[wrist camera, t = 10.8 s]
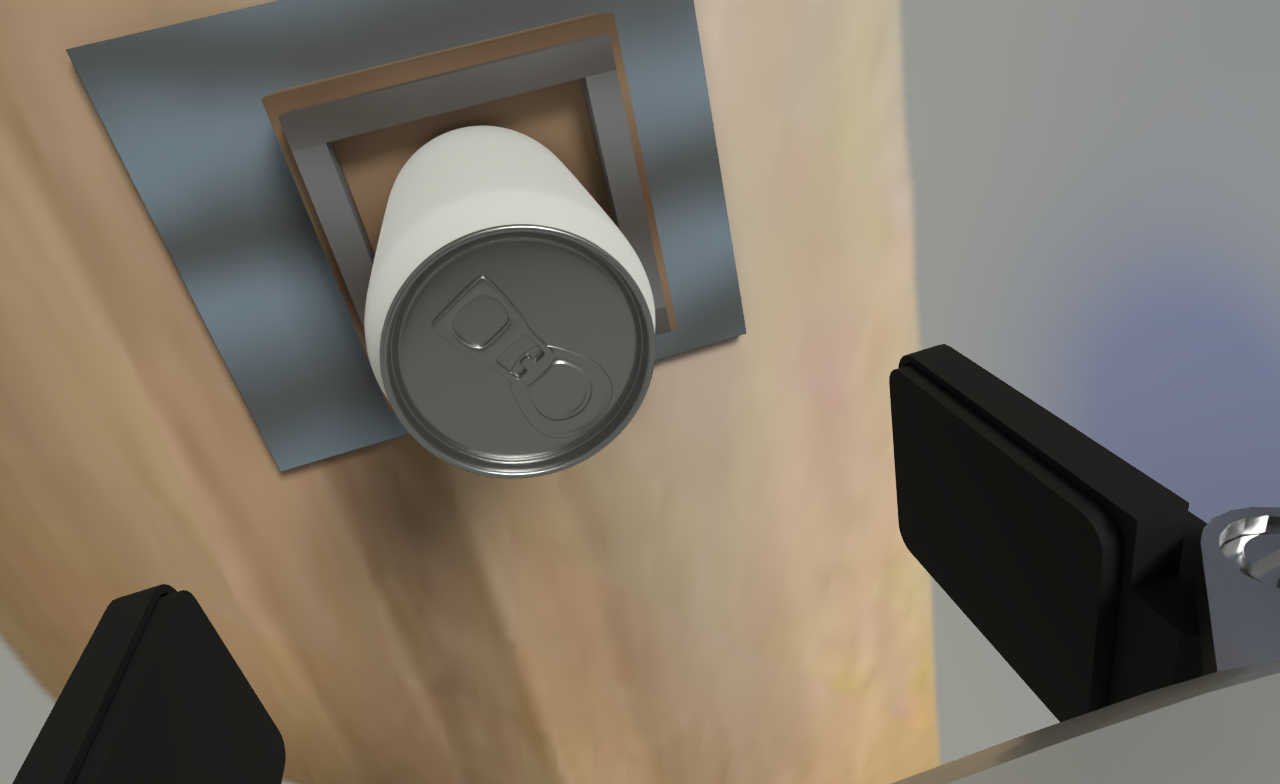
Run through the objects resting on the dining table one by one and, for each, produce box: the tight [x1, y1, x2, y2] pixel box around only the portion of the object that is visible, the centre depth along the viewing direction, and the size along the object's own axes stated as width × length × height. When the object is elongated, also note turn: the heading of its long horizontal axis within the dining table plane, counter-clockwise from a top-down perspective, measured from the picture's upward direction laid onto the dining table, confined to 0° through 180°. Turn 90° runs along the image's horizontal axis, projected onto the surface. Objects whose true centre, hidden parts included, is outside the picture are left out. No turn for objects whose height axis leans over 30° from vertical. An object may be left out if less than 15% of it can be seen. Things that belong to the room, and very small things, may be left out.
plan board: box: [66, 0, 746, 472], centre depth 28 cm, size 16×20×5 cm
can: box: [364, 126, 655, 478], centre depth 22 cm, size 6×6×12 cm
